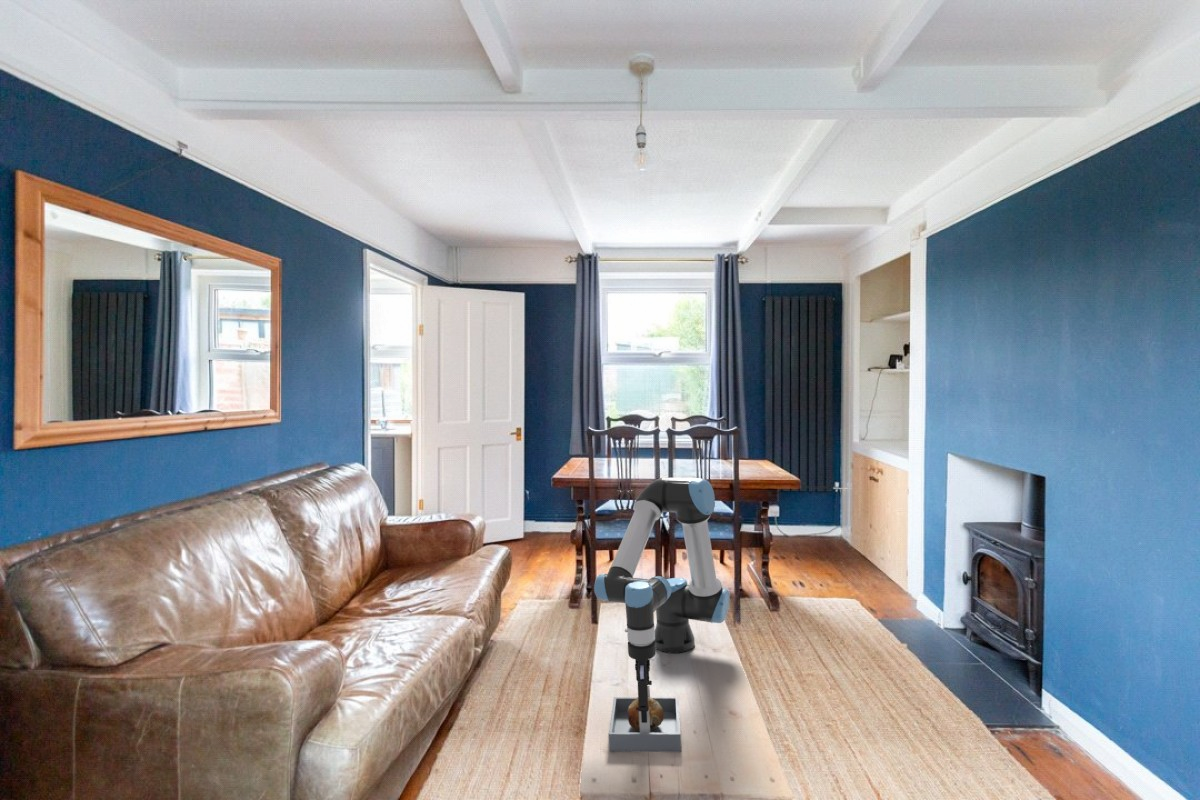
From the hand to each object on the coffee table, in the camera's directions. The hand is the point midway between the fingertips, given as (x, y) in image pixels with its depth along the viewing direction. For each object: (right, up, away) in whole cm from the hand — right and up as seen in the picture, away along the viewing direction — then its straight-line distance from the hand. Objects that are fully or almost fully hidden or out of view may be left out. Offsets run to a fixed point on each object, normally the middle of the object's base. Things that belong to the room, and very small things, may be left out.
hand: (645, 720), depth 164 cm
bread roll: (0, -1, 0) cm, 1 cm away
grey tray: (0, -3, 0) cm, 3 cm away
